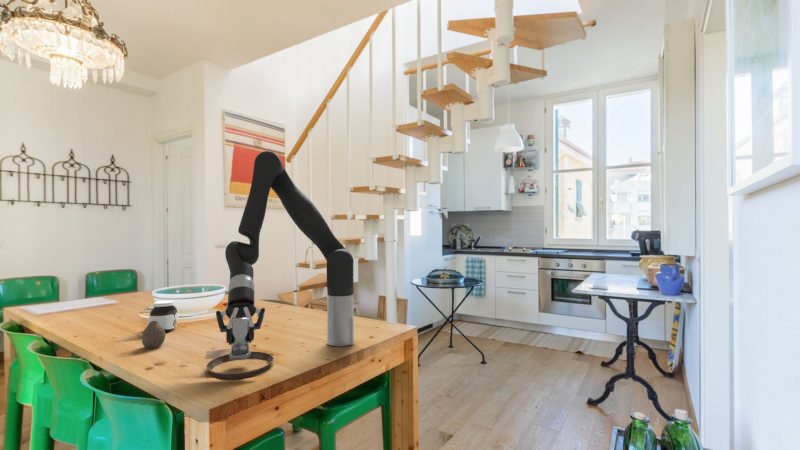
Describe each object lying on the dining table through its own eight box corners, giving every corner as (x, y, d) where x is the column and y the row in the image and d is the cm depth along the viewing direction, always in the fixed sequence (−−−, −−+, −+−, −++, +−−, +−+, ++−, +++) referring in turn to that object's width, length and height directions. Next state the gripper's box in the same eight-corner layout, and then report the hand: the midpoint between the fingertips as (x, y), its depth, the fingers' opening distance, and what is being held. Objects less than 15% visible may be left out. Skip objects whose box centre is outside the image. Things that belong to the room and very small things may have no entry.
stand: (233, 351, 127) (233, 348, 127) (233, 358, 119) (233, 355, 119) (207, 354, 124) (207, 351, 124) (204, 362, 116) (204, 358, 116)
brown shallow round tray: (280, 375, 107) (280, 364, 107) (210, 389, 97) (210, 377, 97) (265, 357, 122) (265, 347, 122) (202, 368, 112) (202, 357, 112)
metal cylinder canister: (253, 353, 112) (254, 315, 113) (247, 359, 107) (247, 320, 107) (233, 353, 112) (234, 315, 112) (225, 360, 106) (226, 320, 106)
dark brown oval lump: (169, 345, 134) (169, 320, 134) (149, 351, 127) (149, 324, 127) (156, 343, 136) (157, 318, 137) (136, 348, 130) (137, 322, 130)
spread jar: (165, 334, 148) (165, 304, 148) (136, 334, 148) (136, 304, 148) (183, 326, 160) (183, 298, 160) (156, 326, 160) (156, 298, 160)
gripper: (215, 286, 114) (211, 337, 103) (266, 284, 119) (267, 333, 108) (216, 301, 119) (212, 351, 107) (265, 298, 124) (266, 346, 113)
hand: (240, 342), depth 108 cm, fingers closed on metal cylinder canister, 4 cm apart
